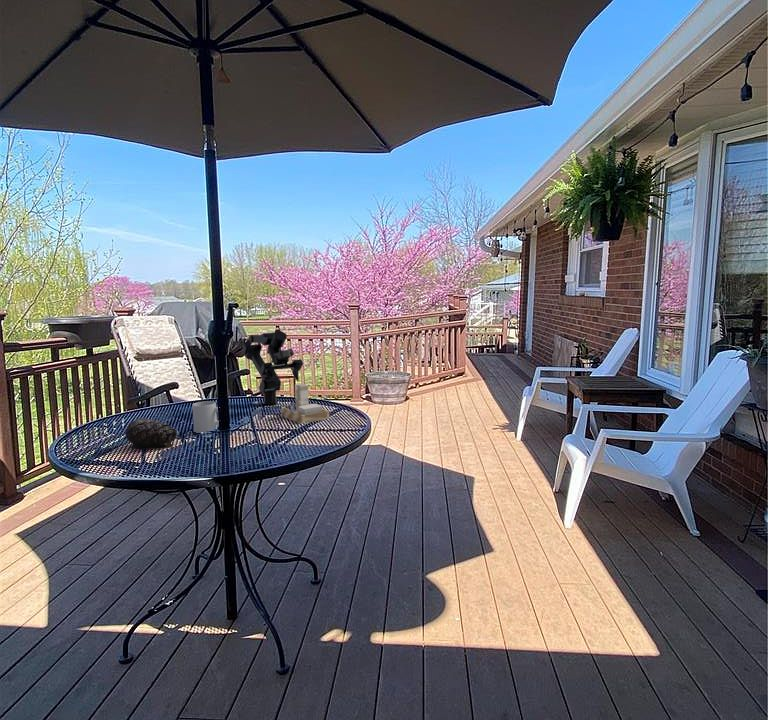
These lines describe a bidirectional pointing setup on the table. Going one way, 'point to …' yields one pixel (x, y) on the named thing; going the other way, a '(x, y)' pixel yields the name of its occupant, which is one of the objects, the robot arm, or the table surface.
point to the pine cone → (150, 434)
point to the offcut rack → (304, 418)
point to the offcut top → (309, 409)
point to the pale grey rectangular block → (301, 395)
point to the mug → (205, 416)
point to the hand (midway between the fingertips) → (288, 381)
